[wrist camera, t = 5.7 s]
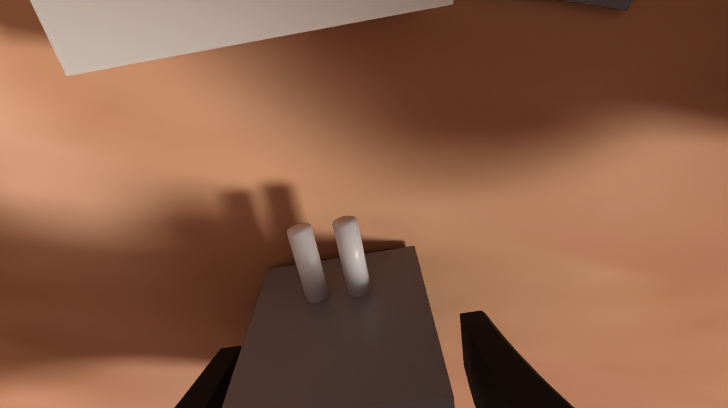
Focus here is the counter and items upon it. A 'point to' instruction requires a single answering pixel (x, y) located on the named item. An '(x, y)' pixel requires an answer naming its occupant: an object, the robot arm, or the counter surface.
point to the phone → (605, 3)
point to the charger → (341, 332)
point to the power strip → (190, 25)
